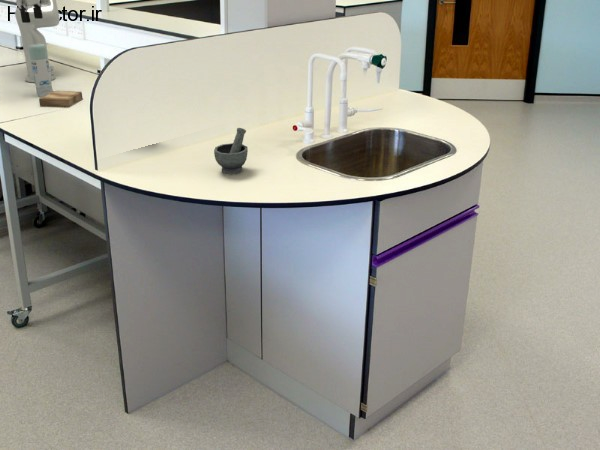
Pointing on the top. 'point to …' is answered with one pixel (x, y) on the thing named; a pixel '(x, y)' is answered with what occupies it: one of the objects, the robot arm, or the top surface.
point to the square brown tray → (60, 99)
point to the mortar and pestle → (232, 154)
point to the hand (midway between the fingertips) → (32, 20)
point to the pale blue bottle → (40, 69)
